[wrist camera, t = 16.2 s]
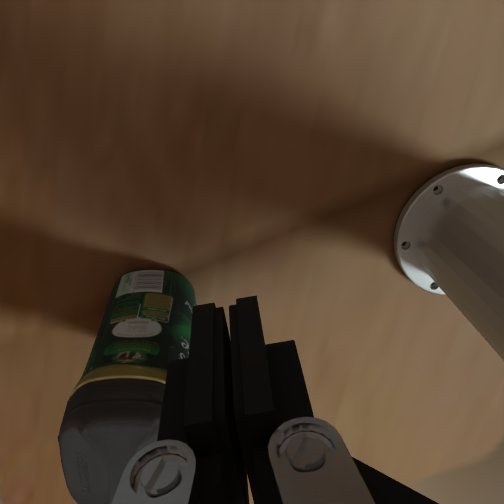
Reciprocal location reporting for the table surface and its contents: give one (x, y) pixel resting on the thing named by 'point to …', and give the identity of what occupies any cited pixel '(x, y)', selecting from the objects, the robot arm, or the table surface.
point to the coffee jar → (124, 381)
